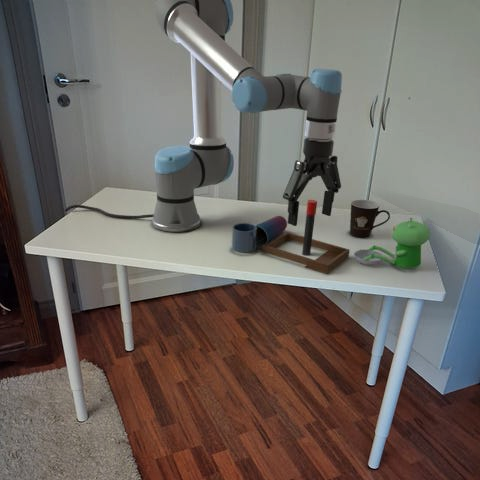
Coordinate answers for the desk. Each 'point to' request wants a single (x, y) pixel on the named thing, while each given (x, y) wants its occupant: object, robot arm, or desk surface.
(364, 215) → the coffee mug
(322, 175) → the robot arm
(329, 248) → the pen tray
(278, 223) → the cup
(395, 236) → the toy character
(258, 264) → the desk surface
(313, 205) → the marker
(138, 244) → the desk surface
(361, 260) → the shallow grey dish
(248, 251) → the pen cup
